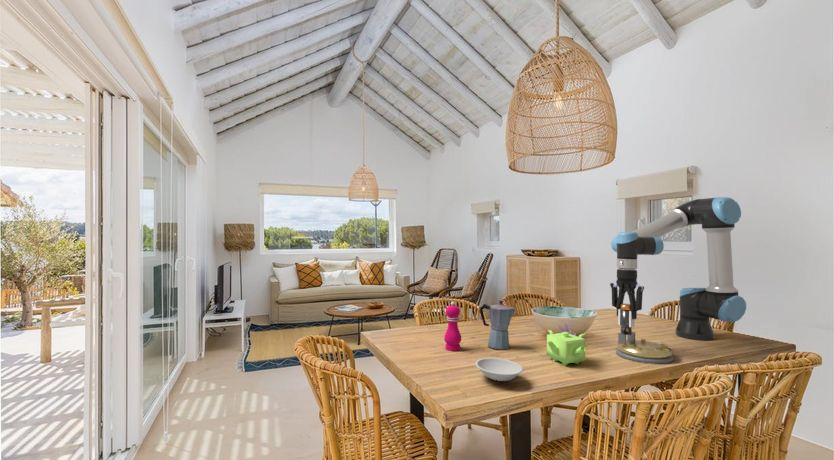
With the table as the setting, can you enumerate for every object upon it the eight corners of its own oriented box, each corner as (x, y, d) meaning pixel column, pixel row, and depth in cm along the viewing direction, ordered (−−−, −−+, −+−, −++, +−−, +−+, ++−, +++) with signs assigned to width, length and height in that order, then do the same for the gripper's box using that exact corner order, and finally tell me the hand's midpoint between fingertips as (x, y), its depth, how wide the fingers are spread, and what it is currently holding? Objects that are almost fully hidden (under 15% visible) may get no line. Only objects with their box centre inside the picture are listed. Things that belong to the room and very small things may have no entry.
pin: (624, 331, 172) (624, 303, 172) (634, 334, 169) (634, 304, 169) (618, 333, 170) (618, 304, 170) (628, 335, 166) (628, 305, 166)
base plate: (633, 346, 177) (633, 342, 177) (683, 358, 160) (683, 354, 160) (605, 353, 167) (605, 349, 167) (656, 367, 150) (656, 363, 150)
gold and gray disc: (633, 342, 177) (633, 328, 177) (681, 353, 161) (681, 338, 161) (607, 349, 166) (607, 334, 166) (655, 362, 150) (655, 345, 150)
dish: (466, 375, 142) (466, 360, 142) (500, 369, 148) (500, 355, 148) (495, 393, 126) (495, 377, 126) (533, 386, 131) (533, 370, 131)
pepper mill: (442, 350, 170) (442, 302, 170) (446, 345, 177) (446, 299, 177) (459, 352, 168) (459, 303, 168) (463, 347, 175) (463, 300, 175)
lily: (555, 352, 172) (566, 334, 169) (544, 334, 183) (554, 317, 180) (578, 358, 175) (590, 341, 172) (566, 341, 186) (576, 324, 183)
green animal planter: (547, 354, 166) (547, 326, 166) (585, 358, 161) (585, 329, 161) (544, 365, 152) (544, 335, 152) (585, 370, 147) (585, 339, 147)
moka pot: (516, 351, 169) (516, 303, 169) (478, 349, 172) (478, 301, 172) (515, 345, 179) (515, 299, 179) (480, 343, 182) (480, 298, 182)
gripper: (602, 267, 175) (602, 322, 175) (642, 271, 160) (641, 331, 160) (613, 267, 179) (612, 320, 179) (652, 270, 164) (652, 328, 164)
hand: (626, 325), depth 169 cm, fingers closed on pin, 4 cm apart
